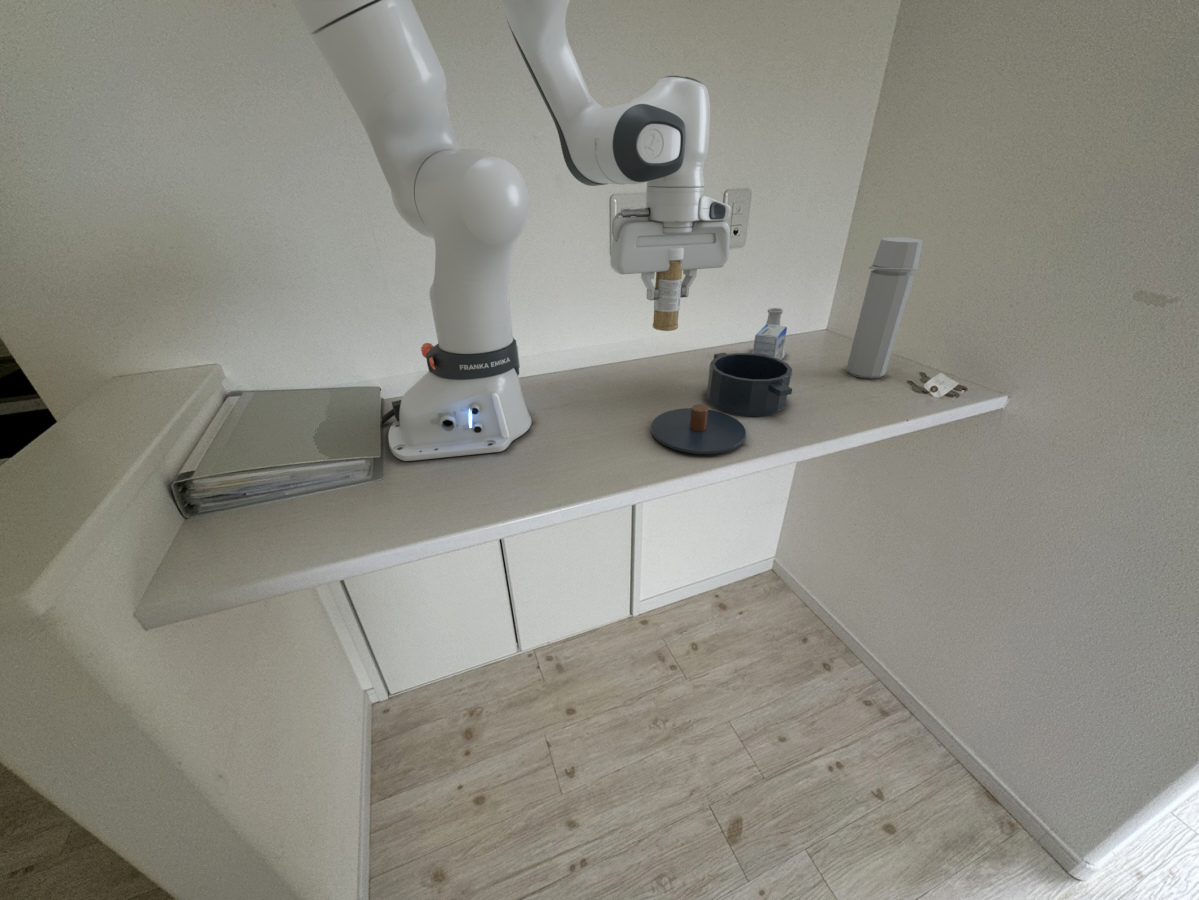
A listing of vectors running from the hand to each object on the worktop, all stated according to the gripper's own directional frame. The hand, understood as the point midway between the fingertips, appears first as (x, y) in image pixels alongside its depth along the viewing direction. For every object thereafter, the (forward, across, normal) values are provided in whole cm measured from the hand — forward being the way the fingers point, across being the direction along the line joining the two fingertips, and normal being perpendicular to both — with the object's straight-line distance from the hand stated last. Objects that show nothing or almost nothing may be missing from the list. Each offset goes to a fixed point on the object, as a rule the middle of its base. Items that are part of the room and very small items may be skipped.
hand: (667, 298), depth 84 cm
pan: (+17, +12, -9) cm, 23 cm away
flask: (+17, +32, +9) cm, 37 cm away
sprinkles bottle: (+5, 0, 0) cm, 5 cm away
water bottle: (+17, +42, -7) cm, 46 cm away
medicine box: (+17, +24, +1) cm, 30 cm away
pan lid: (+17, -2, -17) cm, 24 cm away
